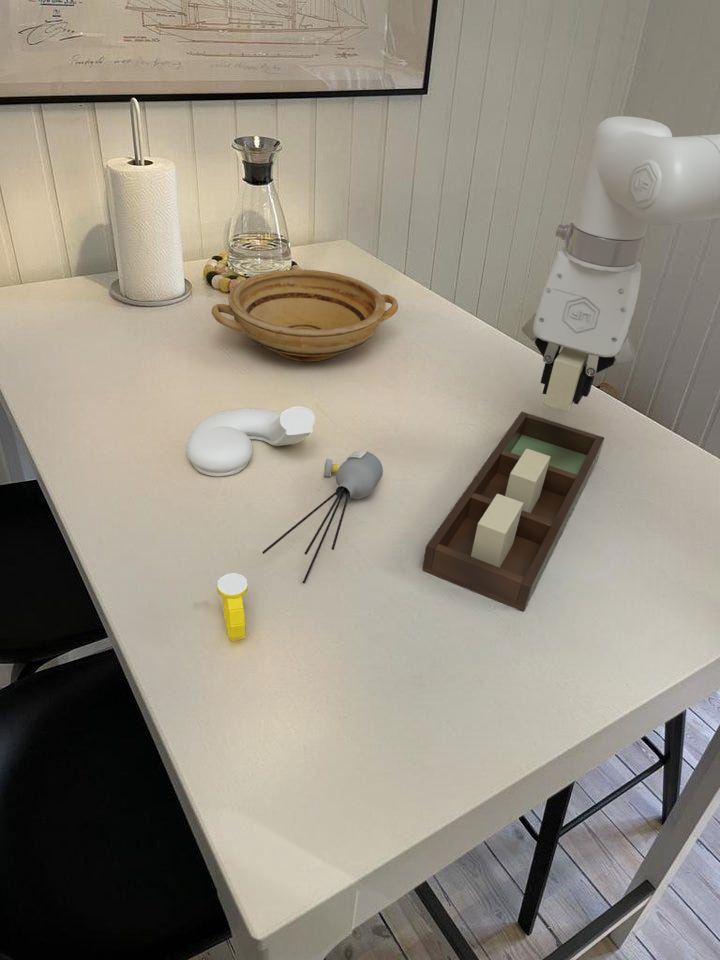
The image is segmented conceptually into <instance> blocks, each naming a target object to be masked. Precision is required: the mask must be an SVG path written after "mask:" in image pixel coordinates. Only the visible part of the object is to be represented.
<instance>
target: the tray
mask: <svg viewBox="0 0 720 960" xmlns="http://www.w3.org/2000/svg"><path fill="white" fill-rule="evenodd" d="M605 440H606V439H605V437H604V436H601V435H598V434H595V433H591V432H589V431H585V430H583V429H579V428H575V427H572V426H569V425H567V424H566V425H565V424H563V423H560V422H557V421H554V420H550V419H547V418H544V417H540V416H539V415H538V416H537V415H534V414H531V413H528V412H525V411H520V413H519V414H518V415H517V417H516V418H515V420H514V421H513V423H512V424H511V425H510V427H508V429H507V431H506V432H505V434H504V435H503V437H502V438H501V440H500V441H499V442H498V444H497V445H496V447H495V448H494V449H493V451H492V452H491V454H490V455H489V457H488V458H487V459H486V461H485V462H484V463H483V465H482V466H481V468H480V469H479V470H478V471H477V473H476V475H475V476H474V477H473V479H472V480H471V481H470V483H469V484H468V486H467V487H466V489H465V490H464V492H463V493H462V495H461V496H460V497H459V499H458V500H457V502H456V503H455V504H454V506H453V507H452V508H451V510H450V511H449V513H448V514H447V515H446V517H445V519H444V520H443V521H442V522H441V524H440V526H439V527H438V528H437V530H436V531H435V533H434V534H433V535H432V537H431V538H430V539H429V540H428V542H427V544H426V545H425V550H424V557H423V563H422V572H425V573H427V574H430V575H432V576H434V577H437V578H440V579H441V580H445V581H446V582H449V583H451V584H454V585H457V586H459V587H462V588H464V589H467V590H469V591H472V592H473V593H477V594H479V595H481V596H485V597H486V598H489V599H491V600H494V601H496V602H499V603H502V604H504V605H506V606H509V607H511V608H513V609H516V610H518V611H520V612H525V611H526V609H527V607H528V605H529V602H530V601H531V598H532V596H533V594H534V592H535V591H536V589H537V586H538V584H539V582H540V580H541V578H542V576H543V575H544V572H545V570H546V568H547V566H548V564H549V561H550V559H551V557H552V555H553V553H554V551H555V549H556V547H557V545H558V543H559V541H560V539H561V537H562V535H563V532H564V530H565V528H566V526H567V524H568V522H569V520H570V519H571V516H572V514H573V512H574V510H575V508H576V506H577V504H578V501H579V499H580V498H581V496H582V493H583V491H584V489H585V487H586V485H587V484H588V482H589V479H590V477H591V476H592V473H593V471H594V469H595V467H596V464H597V463H598V460H599V458H600V455H601V452H602V449H603V445H604V442H605ZM526 449H530V450H533V451H536V452H539V453H542V454H545V455H548V456H550V461H549V465H548V468H547V472H546V476H545V479H544V483H543V487H542V490H541V494H540V497H539V499H538V501H537V502H536V504H535V506H534V508H533V510H532V511H531V513H529V512H526V511H523V510H522V511H521V515H520V519H519V523H518V526H517V530H516V534H515V538H514V542H513V545H512V547H511V549H510V551H509V552H508V554H507V556H506V558H505V559H504V561H503V563H502V565H501V567H497V566H494V565H492V564H489V563H487V562H484V561H482V560H479V559H476V558H474V557H471V553H472V549H473V544H474V539H475V535H476V530H477V525H478V523H479V521H480V519H481V518H482V516H483V515H484V513H485V512H486V510H487V509H488V507H489V506H490V504H491V502H492V501H493V499H494V498H495V496H496V495H497V494H500V495H503V496H505V493H506V489H507V485H508V481H509V477H510V473H511V471H512V470H513V468H514V467H515V465H516V464H517V462H518V461H519V459H520V457H521V456H522V454H523V453H524V451H525V450H526Z"/></svg>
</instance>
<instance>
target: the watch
mask: <svg viewBox="0 0 720 960" xmlns="http://www.w3.org/2000/svg"><path fill="white" fill-rule="evenodd" d="M248 585H249V583H248V580H247V578H246V577H245V576H244V575H242V574H240V573H235V572H230V573H226V574H224V575H222V576H221V577H220V578H219V579H218V580H217V582H216V591H217V595H218V596H220V597H221V600H222V608H223V609H222V610H223V614H224V615H223V617H224V620H225V627H226V633H227V639H228V640H229V641H230V642H232V641H233V642H234V641H237V640H243V639H245V637H246V617H245V608H244V600H243V597H244V596H246V594H247V592H248V589H249V588H248V587H249V586H248Z"/></svg>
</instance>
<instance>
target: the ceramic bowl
mask: <svg viewBox="0 0 720 960" xmlns="http://www.w3.org/2000/svg"><path fill="white" fill-rule="evenodd" d="M386 303H387V304H390V305H391V306H390V307H389V308H388V309H386V308H387V304H386ZM398 310H399V302H398V300H397V299H396V298H395V297H394V296H392V295H389V294H384V293H383V294H381V293H380V291H378V290H377V289H376V288H375V287H373V286H372V285H370V284H368V283H366V282H364V281H362V280H360V279H358V278H354V277H352V276H348V275H344V274H340V273H336V272H331V271H325V270H317V269H316V270H315V269H284V270H283V269H282V270H274V271H267V272H263V273H259V274H256V275H253V276H249V277H247V278H245V279H243V280H241V281H240V282H238V283H237V284H236V285H234V286H233V287H232V288H231V290H230V292H229V295H228V304H225V303H216V304H214V305H213V306H212V308H211V315H212V317H213V318H214V319H215V320H216V322H217V323H219V324H220V325H223V326H225V327H227V328H229V329H231V330H235V331H237V332H239V333H242V334H244V335H245V336H247V337H248V338H249V340H251V341H253V342H254V343H255V344H257V345H259V346H261V347H263V348H266V349H267V350H270V351H273V352H275V353H277V354H278V355H280V356H282V357H283V358H287V359H290V360H293V361H299V362H300V361H301V362H317V361H318V362H319V361H323V360H324V361H325V360H328V359H331V358H333V357H335V356H336V355H338V354H343V353H346V352H349V351H352V350H354V349H355V348H358V347H360V346H362V345H363V344H364V343H365V342H366V341H368V340H369V339H370V338H371V337H372V336H373V335H374V333H375V332H376V330H377V329H378V328H379V325H380V324H381V323H383V322H385V321H386V320H388V319H390V318H391V317H393V316H394V315H395V314H396V313H397V312H398ZM222 313H223V314H227V315H230V316H233V318H234V320H232V319H230V318H228V317H226V316H225V315H223V314H222Z"/></svg>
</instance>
